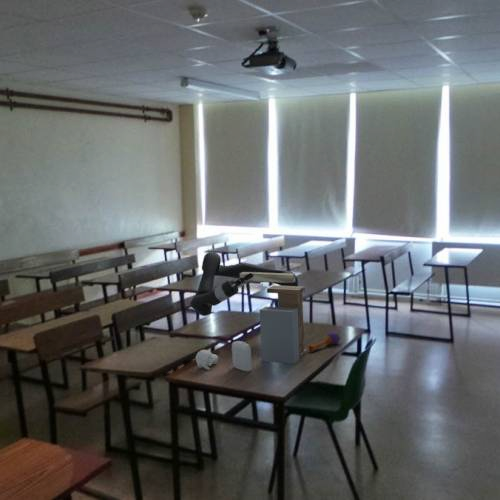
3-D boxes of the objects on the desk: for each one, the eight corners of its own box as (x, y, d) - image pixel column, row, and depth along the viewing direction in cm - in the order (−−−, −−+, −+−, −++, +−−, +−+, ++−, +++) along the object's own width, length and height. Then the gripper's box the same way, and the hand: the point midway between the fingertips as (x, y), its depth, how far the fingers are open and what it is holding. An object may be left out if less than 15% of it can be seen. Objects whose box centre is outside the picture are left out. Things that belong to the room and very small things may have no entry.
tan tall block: (276, 349, 274) (273, 285, 270) (307, 352, 267) (304, 286, 263) (269, 354, 267) (266, 288, 263) (301, 357, 260) (299, 290, 256)
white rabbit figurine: (194, 350, 250) (211, 345, 260) (194, 369, 250) (211, 363, 260) (204, 352, 246) (221, 347, 256) (204, 371, 247) (221, 365, 256)
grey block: (267, 356, 265) (265, 306, 261) (299, 359, 258) (297, 308, 255) (261, 360, 258) (259, 309, 255) (294, 364, 251) (292, 311, 248)
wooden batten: (243, 279, 263) (243, 272, 262) (295, 281, 251) (295, 273, 251) (240, 280, 259) (239, 273, 259) (292, 282, 248) (292, 275, 248)
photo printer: (231, 367, 251) (229, 340, 250) (238, 364, 254) (237, 338, 252) (245, 372, 243) (244, 345, 242) (253, 370, 246) (252, 343, 245)
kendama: (305, 342, 270) (331, 330, 283) (308, 354, 270) (334, 342, 283) (314, 342, 265) (340, 330, 279) (317, 354, 266) (343, 342, 279)
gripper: (236, 294, 271) (264, 278, 264) (223, 300, 258) (251, 283, 251) (229, 280, 272) (256, 264, 264) (215, 286, 259) (243, 269, 252)
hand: (253, 273), depth 258 cm, fingers closed on wooden batten, 3 cm apart
